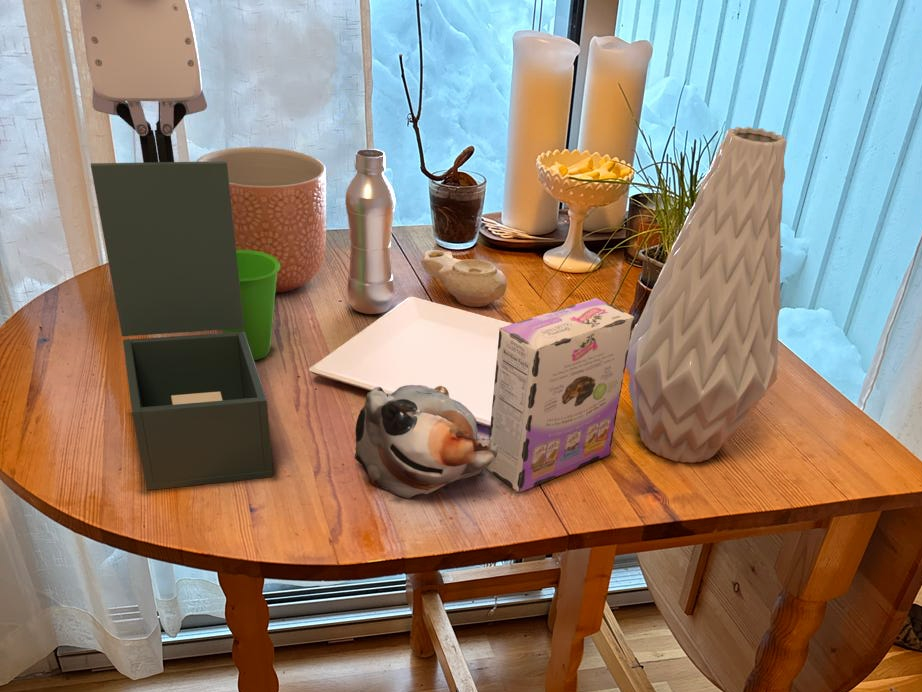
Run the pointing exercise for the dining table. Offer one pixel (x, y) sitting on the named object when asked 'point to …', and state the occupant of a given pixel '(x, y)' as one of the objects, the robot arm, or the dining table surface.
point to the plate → (423, 354)
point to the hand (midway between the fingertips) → (160, 174)
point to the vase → (714, 307)
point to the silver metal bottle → (370, 234)
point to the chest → (198, 410)
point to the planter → (278, 208)
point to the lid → (170, 245)
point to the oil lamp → (466, 277)
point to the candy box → (557, 391)
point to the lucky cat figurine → (418, 440)
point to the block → (196, 398)
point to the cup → (257, 299)
